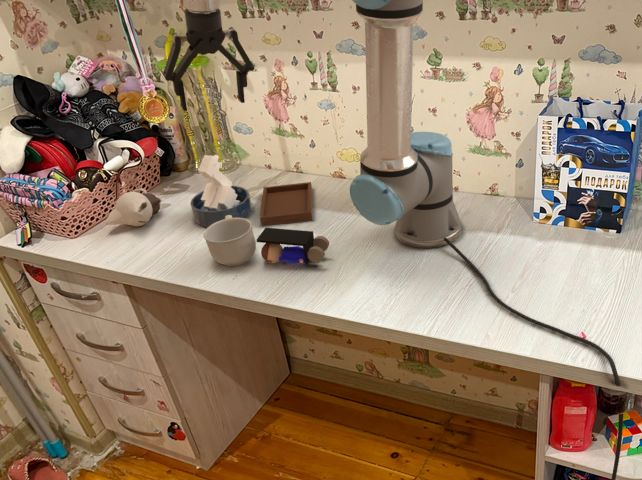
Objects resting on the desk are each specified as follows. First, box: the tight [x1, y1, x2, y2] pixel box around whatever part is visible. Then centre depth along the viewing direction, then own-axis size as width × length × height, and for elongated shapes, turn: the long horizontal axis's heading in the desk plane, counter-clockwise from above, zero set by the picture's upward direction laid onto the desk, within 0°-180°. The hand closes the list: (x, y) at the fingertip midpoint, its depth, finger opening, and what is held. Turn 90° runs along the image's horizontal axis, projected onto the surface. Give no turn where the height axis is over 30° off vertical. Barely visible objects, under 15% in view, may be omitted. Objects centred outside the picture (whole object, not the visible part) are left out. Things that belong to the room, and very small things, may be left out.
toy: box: [105, 187, 163, 227], centre depth 176 cm, size 13×9×15 cm
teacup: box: [203, 215, 257, 267], centre depth 159 cm, size 14×11×8 cm
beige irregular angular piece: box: [197, 154, 241, 211], centre depth 173 cm, size 7×12×15 cm
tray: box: [259, 181, 313, 227], centre depth 178 cm, size 18×13×2 cm
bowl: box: [190, 185, 253, 228], centre depth 177 cm, size 15×15×4 cm
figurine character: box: [256, 227, 330, 267], centre depth 155 cm, size 7×8×15 cm
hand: (213, 104), depth 163 cm, fingers open, 13 cm apart
